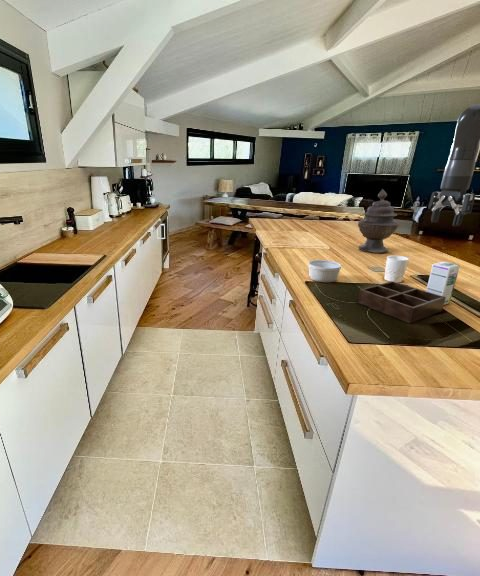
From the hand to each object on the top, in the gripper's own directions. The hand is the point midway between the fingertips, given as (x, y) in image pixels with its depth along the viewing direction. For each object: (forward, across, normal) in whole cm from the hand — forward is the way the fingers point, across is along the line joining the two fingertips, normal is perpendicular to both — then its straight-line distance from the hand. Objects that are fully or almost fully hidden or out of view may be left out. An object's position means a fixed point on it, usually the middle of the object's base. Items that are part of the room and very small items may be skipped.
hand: (444, 224), depth 109 cm
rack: (+27, -7, +17) cm, 33 cm away
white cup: (+28, +19, -2) cm, 33 cm away
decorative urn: (+28, +67, -27) cm, 77 cm away
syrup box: (+28, -5, 0) cm, 28 cm away
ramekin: (+27, +26, +27) cm, 46 cm away
